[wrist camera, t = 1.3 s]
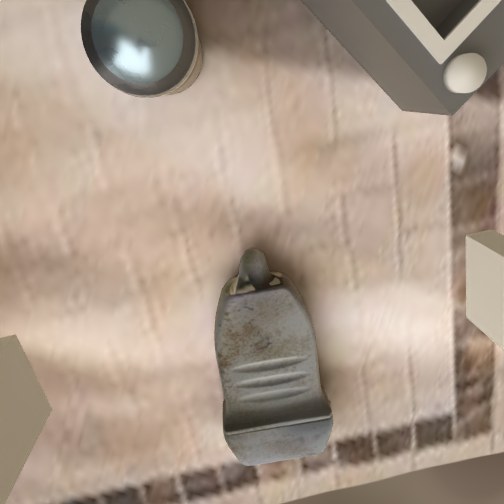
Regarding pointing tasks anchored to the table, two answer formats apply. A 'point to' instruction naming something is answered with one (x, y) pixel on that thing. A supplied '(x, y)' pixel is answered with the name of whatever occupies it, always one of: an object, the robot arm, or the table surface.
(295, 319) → the handheld device
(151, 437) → the table surface
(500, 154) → the table surface
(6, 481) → the robot arm
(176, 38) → the lens
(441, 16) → the grey planter box
